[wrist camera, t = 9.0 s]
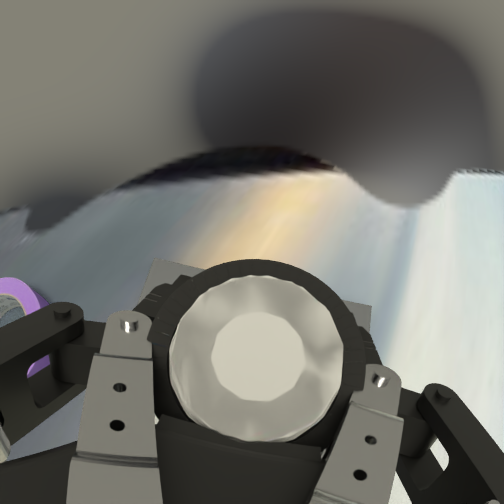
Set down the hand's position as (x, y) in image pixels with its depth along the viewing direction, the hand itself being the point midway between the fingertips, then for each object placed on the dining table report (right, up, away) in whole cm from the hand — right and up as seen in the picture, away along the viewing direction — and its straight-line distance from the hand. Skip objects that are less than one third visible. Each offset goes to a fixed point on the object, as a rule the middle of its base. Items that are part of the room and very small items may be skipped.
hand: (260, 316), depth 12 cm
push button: (-1, -4, +3) cm, 5 cm away
